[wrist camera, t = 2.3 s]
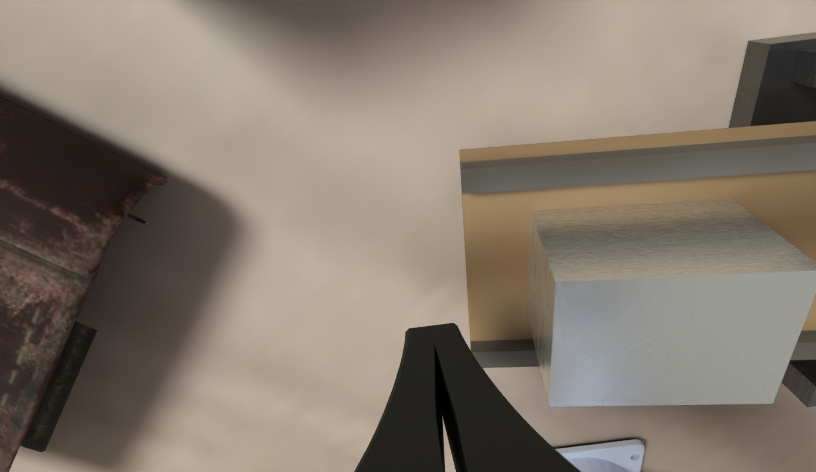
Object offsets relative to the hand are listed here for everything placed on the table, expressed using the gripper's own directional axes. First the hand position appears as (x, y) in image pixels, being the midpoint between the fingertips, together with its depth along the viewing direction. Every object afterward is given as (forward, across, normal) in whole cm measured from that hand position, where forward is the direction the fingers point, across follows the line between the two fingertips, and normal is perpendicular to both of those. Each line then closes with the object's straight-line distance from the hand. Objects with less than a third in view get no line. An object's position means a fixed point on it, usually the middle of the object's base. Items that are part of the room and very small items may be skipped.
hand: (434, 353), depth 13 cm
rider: (+3, -7, 0) cm, 7 cm away
